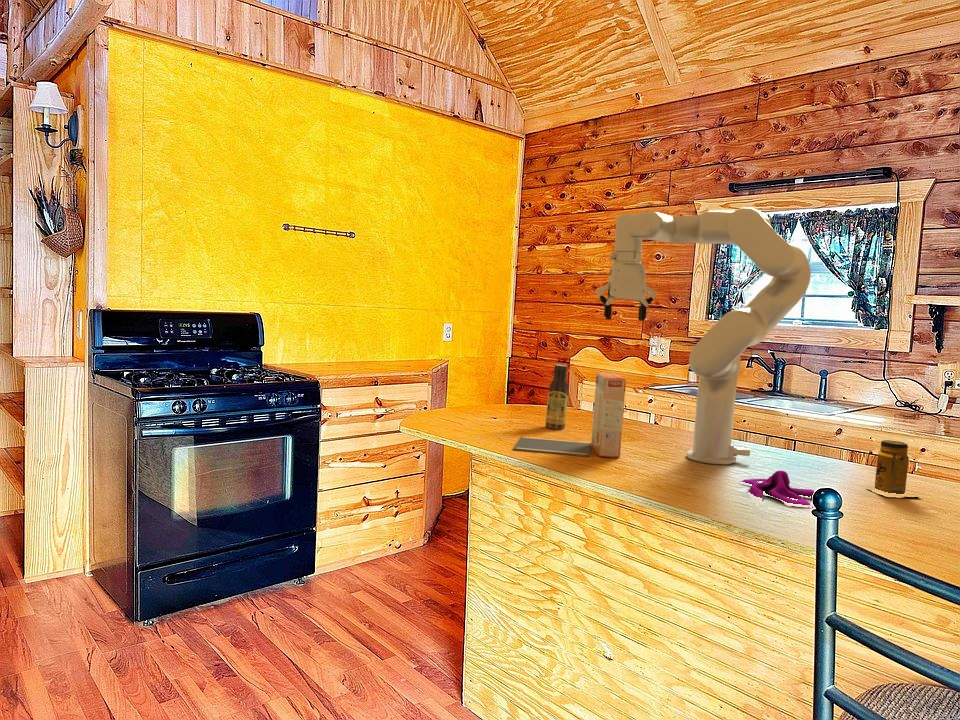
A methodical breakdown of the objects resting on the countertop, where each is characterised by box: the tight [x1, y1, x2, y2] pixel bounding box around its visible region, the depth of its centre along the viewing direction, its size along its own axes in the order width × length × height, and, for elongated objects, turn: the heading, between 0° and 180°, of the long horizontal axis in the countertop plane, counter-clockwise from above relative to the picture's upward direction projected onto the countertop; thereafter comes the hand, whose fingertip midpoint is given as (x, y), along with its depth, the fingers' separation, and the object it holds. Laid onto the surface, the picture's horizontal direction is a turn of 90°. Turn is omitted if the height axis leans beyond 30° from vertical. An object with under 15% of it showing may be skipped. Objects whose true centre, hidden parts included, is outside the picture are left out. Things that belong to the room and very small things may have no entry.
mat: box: [512, 436, 592, 458], centre depth 189 cm, size 20×16×1 cm
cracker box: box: [590, 371, 627, 458], centre depth 185 cm, size 14×6×21 cm, turn 179°
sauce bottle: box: [545, 364, 570, 430], centre depth 215 cm, size 7×6×20 cm
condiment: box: [874, 439, 910, 494], centre depth 156 cm, size 7×8×12 cm
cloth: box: [740, 470, 815, 509], centre depth 151 cm, size 22×19×6 cm
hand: (624, 320), depth 196 cm, fingers open, 9 cm apart
